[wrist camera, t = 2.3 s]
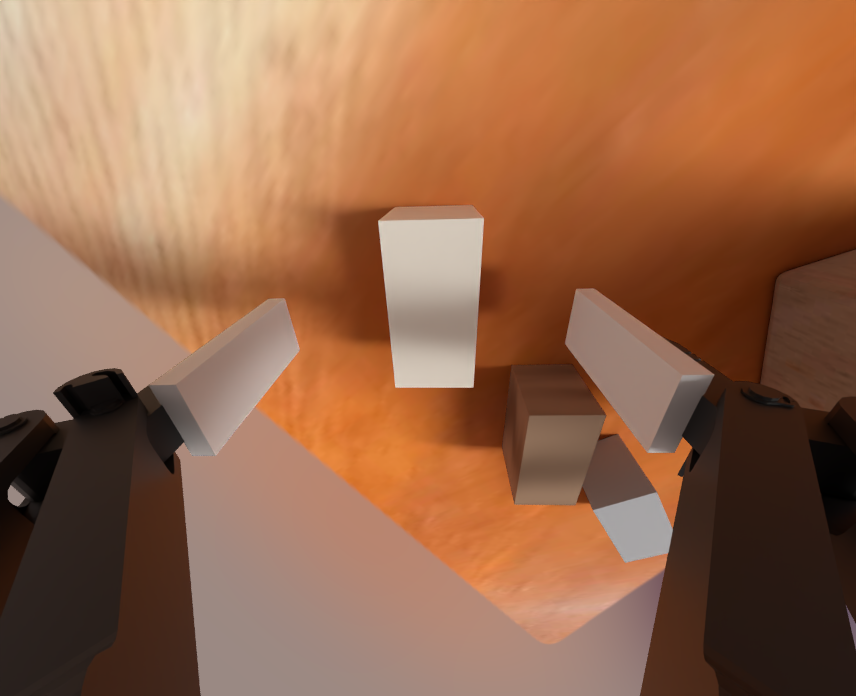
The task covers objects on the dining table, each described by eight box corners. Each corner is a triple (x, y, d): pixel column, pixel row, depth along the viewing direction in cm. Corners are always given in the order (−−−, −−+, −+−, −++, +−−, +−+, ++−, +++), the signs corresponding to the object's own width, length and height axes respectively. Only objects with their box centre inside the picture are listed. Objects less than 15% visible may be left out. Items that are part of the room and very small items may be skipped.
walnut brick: (511, 364, 20) (529, 415, 16) (571, 363, 20) (606, 415, 16) (501, 445, 25) (514, 504, 20) (551, 445, 24) (575, 505, 20)
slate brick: (566, 450, 25) (592, 510, 20) (617, 432, 23) (656, 492, 19) (596, 501, 28) (625, 562, 24) (642, 488, 27) (681, 550, 22)
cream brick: (395, 206, 16) (378, 220, 11) (472, 204, 16) (483, 218, 11) (405, 340, 20) (395, 387, 16) (466, 339, 20) (473, 387, 15)
